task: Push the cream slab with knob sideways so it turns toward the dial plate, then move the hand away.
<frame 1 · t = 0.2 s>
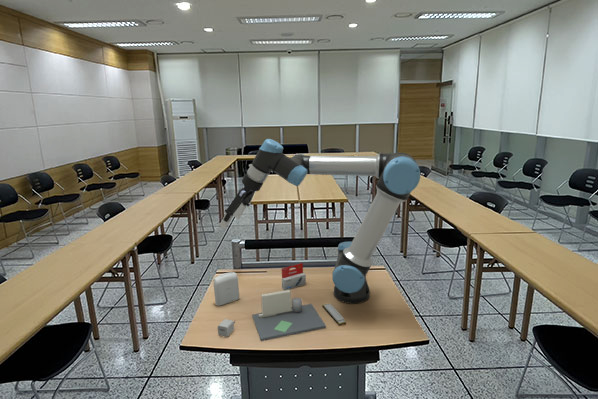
hand: (229, 222, 147), 34 cm above the table, tool tilted 30°, fingers open, 13 cm apart
usb wall charger: (228, 331, 136), on the table
ink cartridge box: (294, 287, 167), on the table
photo printer: (227, 301, 156), on the table
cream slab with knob: (280, 302, 143), point 6 cm above the table, hinge at 0.0°
dial plate: (288, 322, 140), on the table
harmonica: (333, 316, 144), on the table
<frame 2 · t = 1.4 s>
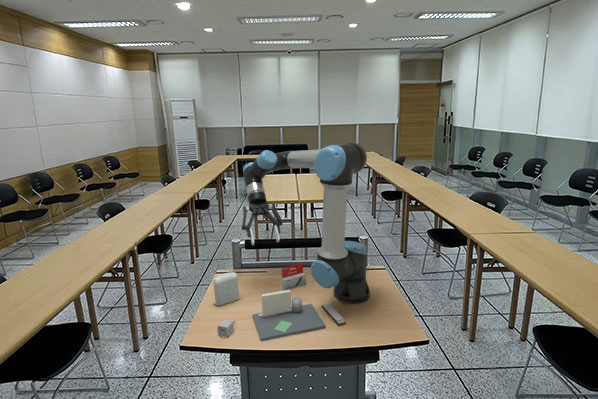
hand: (265, 242, 151), 25 cm above the table, tool tilted 45°, fingers open, 10 cm apart
nothing on the table moved.
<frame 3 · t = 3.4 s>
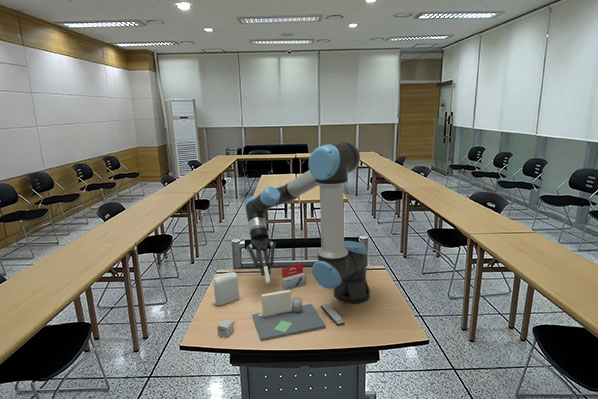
hand: (267, 282, 152), 9 cm above the table, tool tilted 45°, fingers closed
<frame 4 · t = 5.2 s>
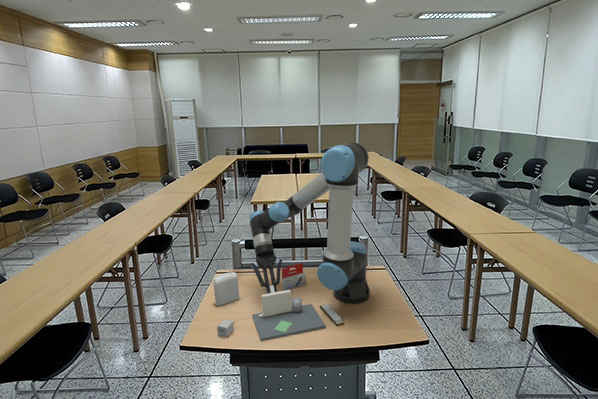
hand: (274, 302, 144), 5 cm above the table, tool tilted 45°, fingers closed
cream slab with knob: (280, 302, 143), point 6 cm above the table, hinge at 1.1°, touching gripper
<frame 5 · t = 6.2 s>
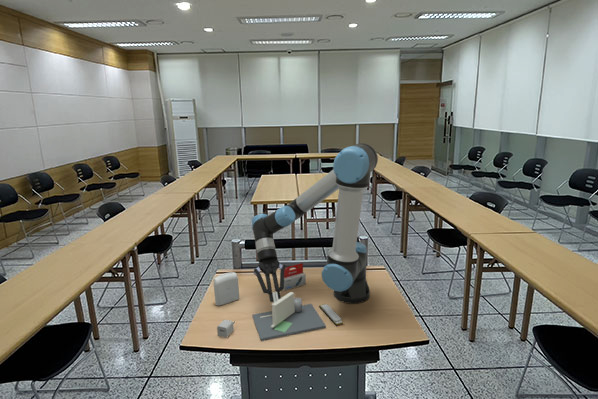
hand: (277, 310, 139), 5 cm above the table, tool tilted 45°, fingers closed
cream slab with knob: (286, 307, 140), point 6 cm above the table, hinge at 36.1°, touching gripper
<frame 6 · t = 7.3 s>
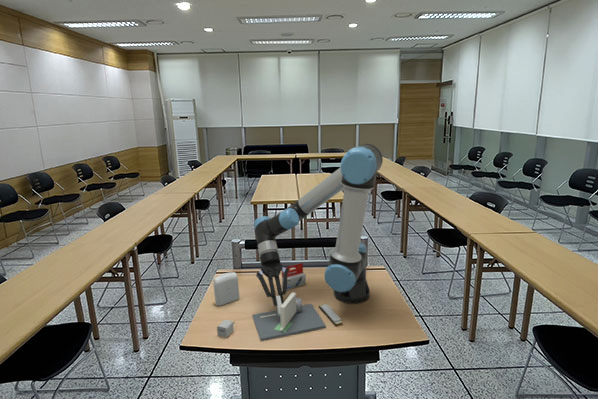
hand: (280, 314, 136), 5 cm above the table, tool tilted 45°, fingers closed
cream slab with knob: (290, 308, 139), point 6 cm above the table, hinge at 51.4°, touching gripper
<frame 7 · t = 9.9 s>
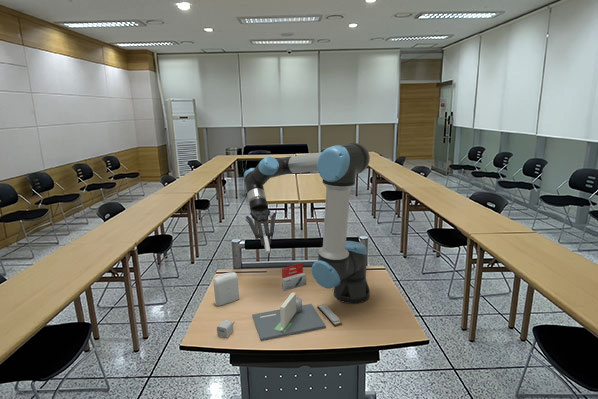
hand: (268, 252, 149), 22 cm above the table, tool tilted 45°, fingers closed
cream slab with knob: (290, 308, 139), point 6 cm above the table, hinge at 51.5°
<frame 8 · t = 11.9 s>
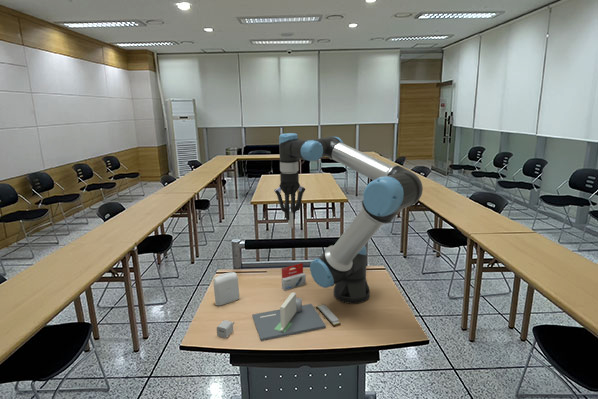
hand: (290, 226, 159), 28 cm above the table, tool pointing down, fingers closed
at the end: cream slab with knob at +52° (first picture: +0°); the gripper is holding nothing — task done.
